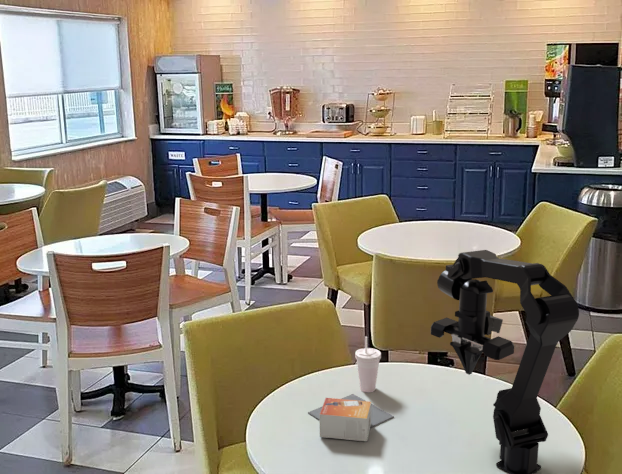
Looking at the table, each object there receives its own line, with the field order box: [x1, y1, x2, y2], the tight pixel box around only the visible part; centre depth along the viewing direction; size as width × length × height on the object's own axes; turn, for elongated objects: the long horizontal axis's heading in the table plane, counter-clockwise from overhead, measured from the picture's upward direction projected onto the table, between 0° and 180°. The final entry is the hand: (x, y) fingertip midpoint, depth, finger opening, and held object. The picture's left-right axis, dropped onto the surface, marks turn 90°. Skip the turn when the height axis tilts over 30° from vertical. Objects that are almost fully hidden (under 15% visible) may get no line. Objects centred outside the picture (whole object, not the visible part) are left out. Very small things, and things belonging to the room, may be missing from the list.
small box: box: [319, 397, 373, 442], centre depth 152 cm, size 8×6×10 cm
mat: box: [307, 393, 395, 429], centre depth 160 cm, size 14×14×1 cm
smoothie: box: [354, 336, 382, 393], centre depth 171 cm, size 6×6×14 cm
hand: (469, 373), depth 153 cm, fingers closed
